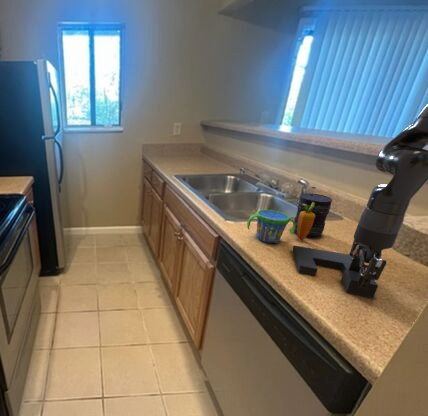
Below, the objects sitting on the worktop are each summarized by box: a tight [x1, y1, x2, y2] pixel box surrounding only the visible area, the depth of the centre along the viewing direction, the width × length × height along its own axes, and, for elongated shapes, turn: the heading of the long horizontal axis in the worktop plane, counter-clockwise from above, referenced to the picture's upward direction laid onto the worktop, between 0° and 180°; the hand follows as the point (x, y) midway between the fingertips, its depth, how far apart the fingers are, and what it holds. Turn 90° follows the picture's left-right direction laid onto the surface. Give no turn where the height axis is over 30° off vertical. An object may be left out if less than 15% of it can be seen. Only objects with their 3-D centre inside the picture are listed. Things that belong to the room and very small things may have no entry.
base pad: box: [291, 245, 361, 277], centre depth 86 cm, size 16×14×2 cm
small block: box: [340, 270, 379, 299], centre depth 75 cm, size 6×6×4 cm
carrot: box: [297, 202, 315, 241], centre depth 100 cm, size 5×5×15 cm
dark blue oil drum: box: [293, 186, 333, 240], centre depth 105 cm, size 10×10×18 cm
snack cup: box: [246, 209, 296, 244], centre depth 102 cm, size 16×10×10 cm
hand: (356, 280), depth 76 cm, fingers open, 6 cm apart
